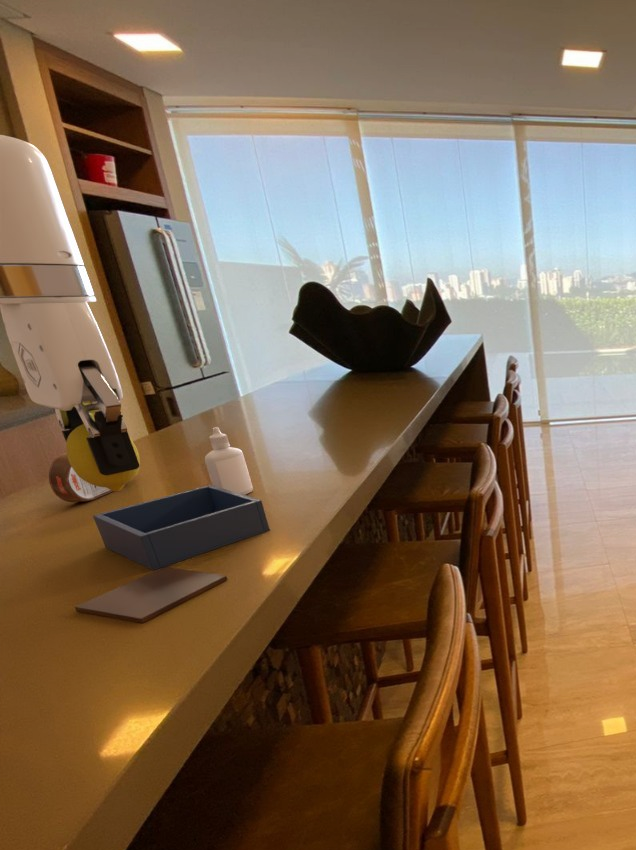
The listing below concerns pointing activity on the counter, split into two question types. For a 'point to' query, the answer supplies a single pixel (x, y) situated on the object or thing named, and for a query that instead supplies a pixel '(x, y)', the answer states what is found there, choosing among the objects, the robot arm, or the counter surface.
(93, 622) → the counter surface
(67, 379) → the robot arm
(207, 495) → the tote
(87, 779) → the counter surface
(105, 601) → the coaster
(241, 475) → the eye dropper bottle
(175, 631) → the counter surface
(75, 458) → the lemon
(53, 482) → the tin
